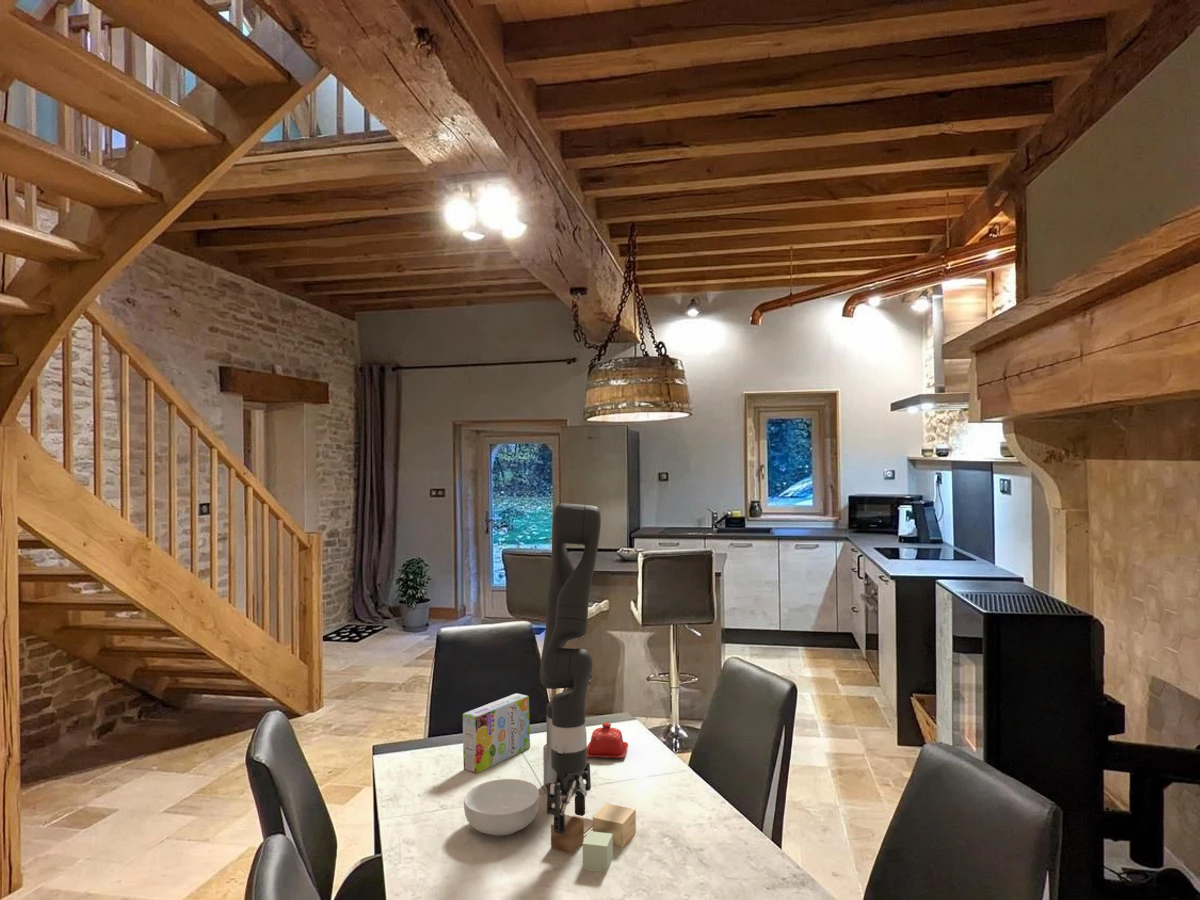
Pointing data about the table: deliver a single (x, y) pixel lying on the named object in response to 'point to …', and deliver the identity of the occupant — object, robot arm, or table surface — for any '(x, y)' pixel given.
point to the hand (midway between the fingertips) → (569, 823)
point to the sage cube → (597, 851)
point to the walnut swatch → (586, 824)
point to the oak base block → (616, 823)
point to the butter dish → (607, 743)
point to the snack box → (495, 732)
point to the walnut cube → (568, 835)
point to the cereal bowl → (501, 806)
